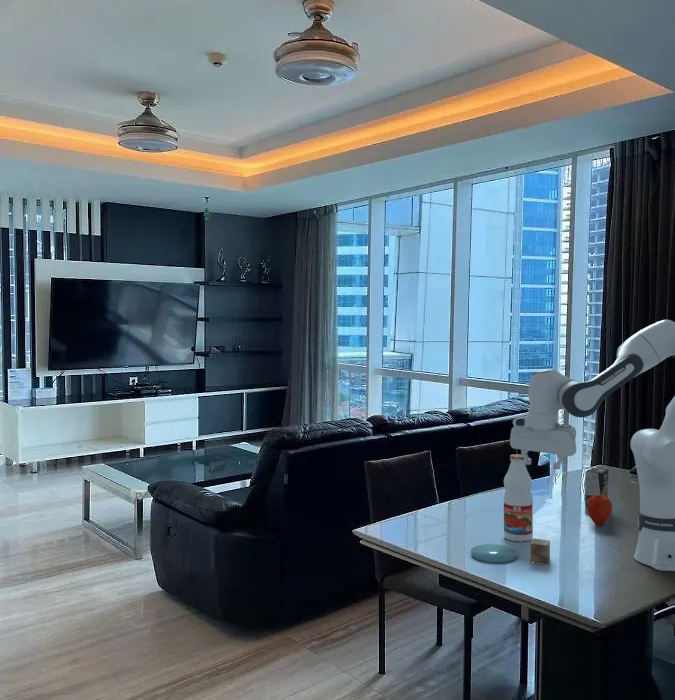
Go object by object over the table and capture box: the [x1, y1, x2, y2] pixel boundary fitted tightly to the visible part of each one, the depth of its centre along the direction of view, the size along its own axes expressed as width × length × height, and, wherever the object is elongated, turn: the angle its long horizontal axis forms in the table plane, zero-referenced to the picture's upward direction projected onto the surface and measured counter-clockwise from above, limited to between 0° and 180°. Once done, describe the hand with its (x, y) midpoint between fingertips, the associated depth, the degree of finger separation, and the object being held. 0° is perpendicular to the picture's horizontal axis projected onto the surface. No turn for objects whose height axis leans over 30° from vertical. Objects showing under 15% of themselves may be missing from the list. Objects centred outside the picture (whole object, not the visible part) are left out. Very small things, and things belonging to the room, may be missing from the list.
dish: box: [470, 543, 518, 564], centre depth 213 cm, size 14×14×1 cm
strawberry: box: [587, 495, 613, 527], centre depth 242 cm, size 9×8×11 cm
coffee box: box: [584, 467, 609, 515], centre depth 258 cm, size 9×6×16 cm
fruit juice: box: [503, 453, 534, 543], centre depth 229 cm, size 9×9×28 cm
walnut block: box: [529, 538, 551, 565], centre depth 207 cm, size 5×5×6 cm
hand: (542, 466), depth 210 cm, fingers open, 8 cm apart
